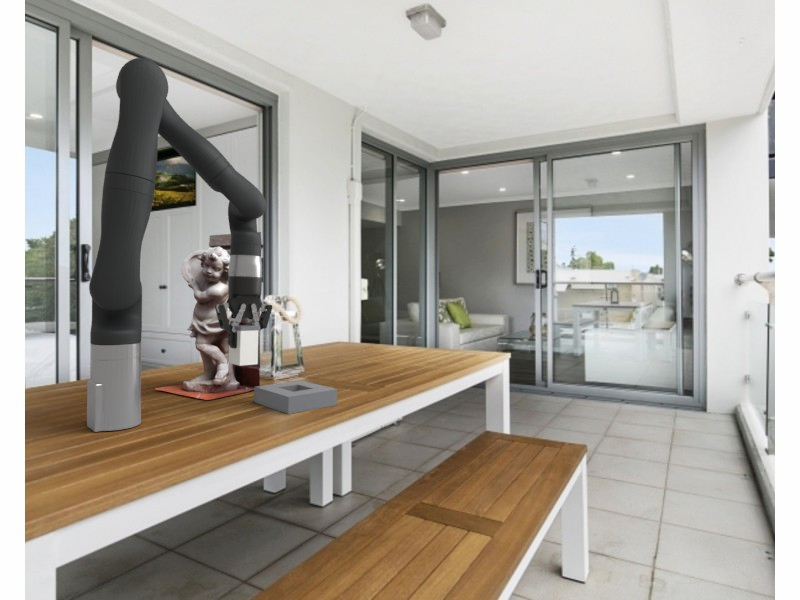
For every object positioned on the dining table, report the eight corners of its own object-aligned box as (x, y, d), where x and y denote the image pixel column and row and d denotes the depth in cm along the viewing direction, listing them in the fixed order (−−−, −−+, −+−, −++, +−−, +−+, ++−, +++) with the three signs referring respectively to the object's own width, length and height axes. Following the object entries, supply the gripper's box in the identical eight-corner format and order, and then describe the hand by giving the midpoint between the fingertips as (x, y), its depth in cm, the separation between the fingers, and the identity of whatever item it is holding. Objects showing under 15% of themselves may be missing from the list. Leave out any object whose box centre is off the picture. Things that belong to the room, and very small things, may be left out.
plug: (239, 365, 116) (240, 326, 116) (228, 362, 120) (229, 325, 119) (257, 364, 119) (258, 326, 119) (246, 361, 123) (247, 324, 123)
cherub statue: (154, 390, 140) (155, 229, 139) (210, 381, 156) (211, 235, 155) (207, 401, 128) (208, 224, 127) (262, 389, 144) (264, 232, 143)
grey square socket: (288, 414, 117) (288, 396, 117) (254, 402, 128) (254, 386, 128) (336, 405, 126) (337, 389, 126) (300, 394, 138) (301, 380, 138)
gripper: (223, 273, 111) (221, 351, 111) (280, 276, 121) (278, 347, 122) (208, 274, 117) (207, 347, 117) (264, 276, 127) (262, 344, 127)
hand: (243, 347), depth 119 cm, fingers closed on plug, 4 cm apart
